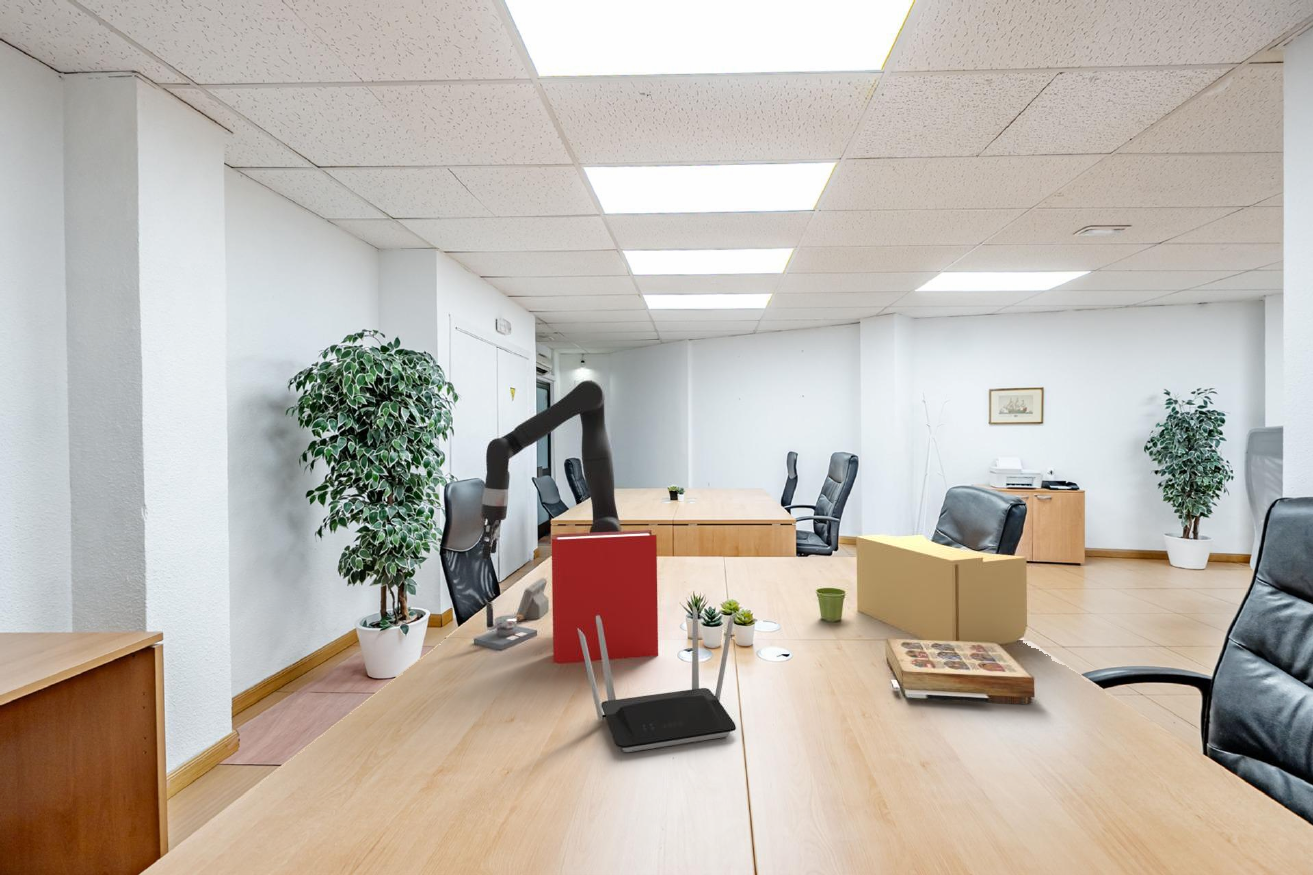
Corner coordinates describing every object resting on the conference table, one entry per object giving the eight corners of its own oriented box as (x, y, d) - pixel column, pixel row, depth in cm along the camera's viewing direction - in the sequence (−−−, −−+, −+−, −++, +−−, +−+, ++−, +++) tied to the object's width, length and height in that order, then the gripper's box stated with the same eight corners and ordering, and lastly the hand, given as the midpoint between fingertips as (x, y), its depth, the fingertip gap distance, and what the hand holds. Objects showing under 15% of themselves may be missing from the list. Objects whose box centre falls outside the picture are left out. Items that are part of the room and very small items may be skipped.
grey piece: (528, 621, 176) (528, 594, 176) (495, 634, 165) (494, 605, 165) (513, 618, 179) (513, 591, 179) (480, 630, 168) (479, 602, 168)
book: (652, 645, 166) (651, 530, 166) (658, 655, 158) (656, 534, 158) (553, 653, 161) (551, 534, 161) (553, 664, 154) (551, 539, 153)
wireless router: (589, 763, 107) (587, 651, 107) (572, 706, 129) (571, 614, 129) (762, 735, 116) (761, 632, 116) (718, 687, 138) (717, 600, 138)
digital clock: (534, 607, 205) (534, 576, 205) (557, 609, 202) (557, 577, 202) (507, 621, 190) (506, 587, 190) (531, 623, 187) (531, 589, 187)
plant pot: (814, 622, 184) (814, 594, 184) (816, 613, 193) (815, 586, 193) (846, 624, 182) (846, 596, 182) (846, 615, 191) (846, 588, 191)
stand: (537, 635, 176) (536, 622, 176) (501, 650, 164) (501, 636, 164) (509, 629, 182) (509, 617, 182) (473, 643, 170) (473, 630, 170)
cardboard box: (857, 610, 196) (856, 536, 196) (921, 602, 204) (920, 531, 204) (952, 652, 158) (951, 560, 158) (1027, 640, 166) (1026, 553, 166)
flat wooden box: (897, 705, 129) (1040, 714, 124) (896, 676, 129) (1040, 683, 124) (878, 662, 153) (997, 668, 148) (877, 637, 153) (996, 642, 148)
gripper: (503, 507, 176) (496, 562, 176) (511, 501, 190) (505, 552, 191) (477, 504, 176) (471, 559, 176) (487, 499, 190) (481, 549, 190)
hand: (489, 555), depth 183 cm, fingers open, 8 cm apart
